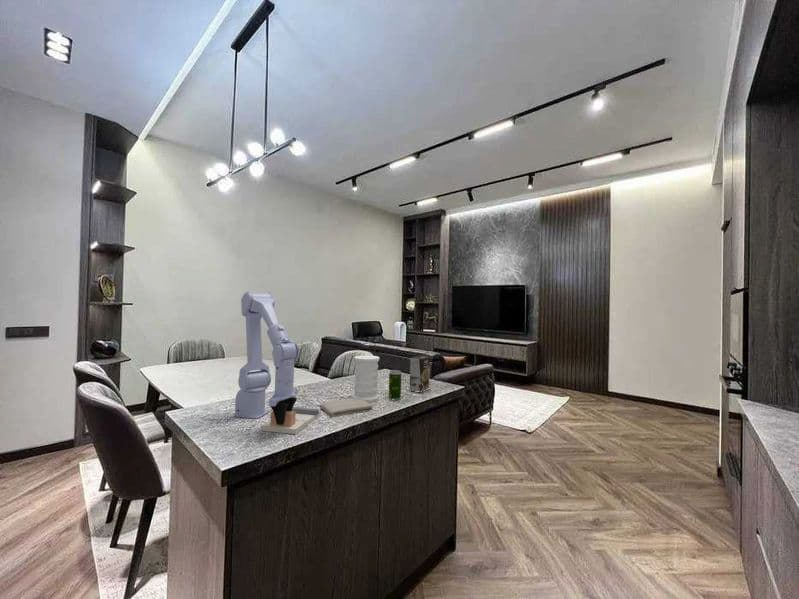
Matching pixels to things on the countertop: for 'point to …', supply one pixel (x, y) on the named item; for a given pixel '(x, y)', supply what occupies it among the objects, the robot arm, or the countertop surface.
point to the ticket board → (306, 414)
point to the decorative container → (366, 378)
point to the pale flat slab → (287, 427)
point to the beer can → (395, 384)
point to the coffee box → (419, 373)
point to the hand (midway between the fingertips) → (282, 422)
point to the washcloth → (345, 406)
